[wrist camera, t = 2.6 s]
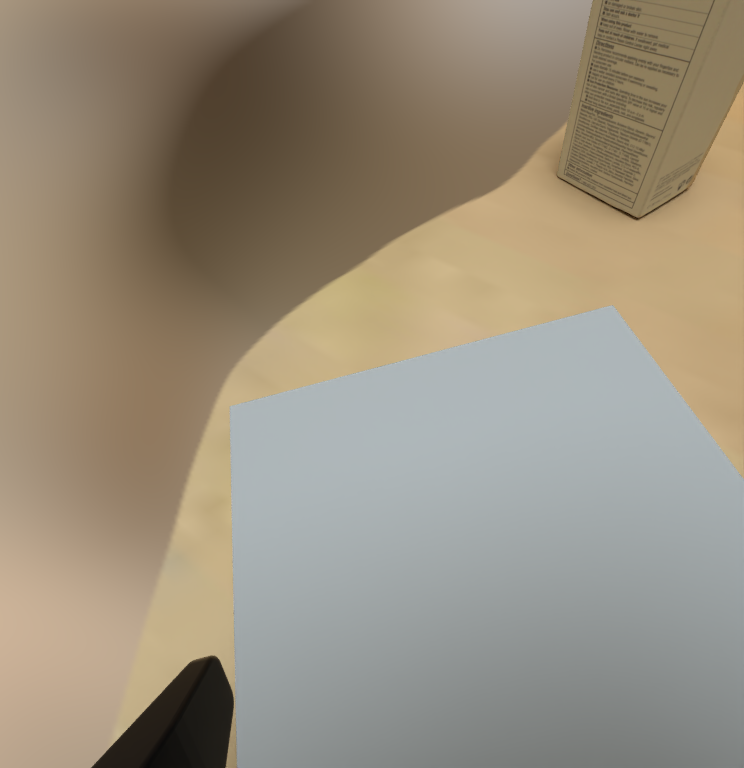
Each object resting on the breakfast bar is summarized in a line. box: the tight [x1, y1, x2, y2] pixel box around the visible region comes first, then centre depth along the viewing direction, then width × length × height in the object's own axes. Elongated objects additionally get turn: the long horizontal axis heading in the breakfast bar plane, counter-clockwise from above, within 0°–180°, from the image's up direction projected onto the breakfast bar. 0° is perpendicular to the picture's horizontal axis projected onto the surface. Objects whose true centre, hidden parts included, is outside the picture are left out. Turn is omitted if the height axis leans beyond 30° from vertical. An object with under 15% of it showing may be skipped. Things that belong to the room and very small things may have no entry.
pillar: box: [230, 305, 744, 768], centre depth 9 cm, size 5×5×12 cm
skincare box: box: [557, 0, 744, 218], centre depth 19 cm, size 6×4×12 cm
